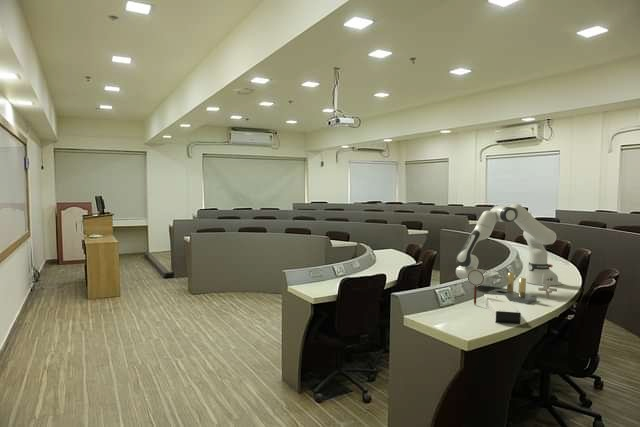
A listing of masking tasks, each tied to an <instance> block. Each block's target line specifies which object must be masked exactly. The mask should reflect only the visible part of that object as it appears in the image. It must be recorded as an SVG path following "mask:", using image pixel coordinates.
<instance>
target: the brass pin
mask: <svg viewBox="0 0 640 427" xmlns="http://www.w3.org/2000/svg"><path fill="white" fill-rule="evenodd" d="M506 278H507V279H506V280H507V281H506V284H507V286H506V291H510V292H514V282H515V280H514V279H515V273H514V272H510V271H508V272H507V277H506Z"/></svg>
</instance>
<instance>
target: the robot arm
mask: <svg viewBox="0 0 640 427" xmlns="http://www.w3.org/2000/svg"><path fill="white" fill-rule="evenodd" d="M497 222H501V223H511V222H514V223H515V224H516V225H517V226H518V227H519V228H520V229H521V230H522V231H523V234H522V236H523V238H524V240H526V243H527V246H528V249H529V250H528V251H529V262H528V273H527V278H526V284H531V285H537V286H538V285H539V286H543V287H544V286H545V287H546V281H549V282H550V284H549V287H550V286H559V285H562V284H563V283H562V282H561V281H559V276H558V275H557V273H555V272H554V271H553V270H551V269H550V268H553V264H551V263H548V257H549V256H548V251H547V249H546V248H545V245H547V246H548V245H553V244H555V242H556V240H557V234H556V232H555V231H553V230H552V229H550V228H548V227H547V226H545V225H544V224H543V223H541V222H540V221H538V220H537V219H536V218H535V217H534V216H533V215H532V214H531V213H530V212H529V211H528V210H527V209H526V208H525V207H524V206H522V205H521V204H519V203H512V204H511V205H509V206H506V205H493V206H491V207H490V208H489V209H488V210H485V211H484V210H483V212H482V213H481V215H480V216H479V218H478V220H477V223H476V225H475V227H474V229H473V230H472V231H471V233H470V234H469V235H468V238H467V239H466V241H465V243H464V244H463V246H462V248H461V250H460V251H459V252H458V253H457V254H456V257H455V263H456V264H457V265H458V266H457V267H456V269H455V275H456V276H457V278H459V279H460V280H463V279H465V278H468V274H469V272H471V271H473V270H478V271H480V272H481V273H482V274H484V273H485V272H486V273H487V271H489V272H491V273H490V274H488V275H485V276H484V281H483V282H484V283H489V282H495V283H496V282H497V281H498V280H501V281H502V280H504V276H501V275H500V273H499V272H496V271H490V270H488V269H482V268H481V269H480V268H478V266H479V263H480V260H479V257H477V256H476V255H474V254H472V252H473V251H474V249H475V247H476V245H477V243H479V241H483V240H486V239H488V238H489V237H490V236H491V235H492V232H493V230H494V229H495V226H496V224H497ZM484 283H483V284H484Z"/></svg>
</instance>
